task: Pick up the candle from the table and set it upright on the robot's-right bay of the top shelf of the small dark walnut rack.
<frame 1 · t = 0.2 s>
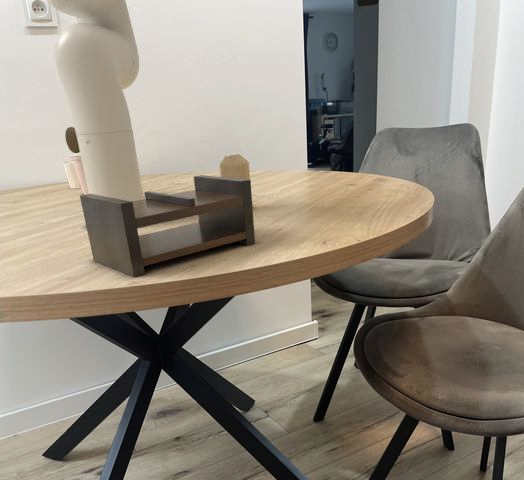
hand: (368, 0, 75), 31 cm above the table, tool pointing down, fingers open, 9 cm apart
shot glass: (80, 187, 146), on the table
rack: (176, 251, 74), on the table
kendama: (101, 200, 122), on the table
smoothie: (91, 194, 133), on the table
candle: (238, 210, 100), on the table
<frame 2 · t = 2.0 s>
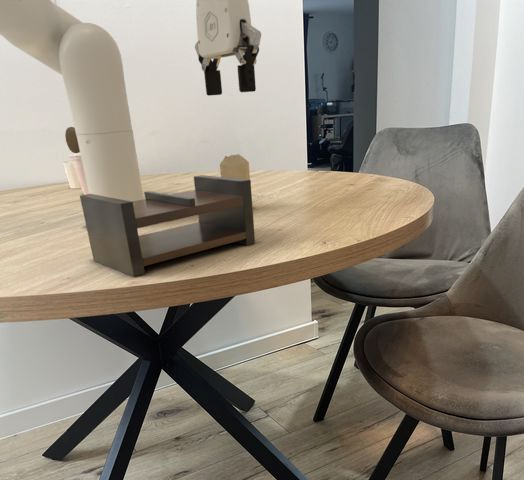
hand: (230, 93, 91), 20 cm above the table, tool pointing down, fingers open, 9 cm apart
nothing on the table moved.
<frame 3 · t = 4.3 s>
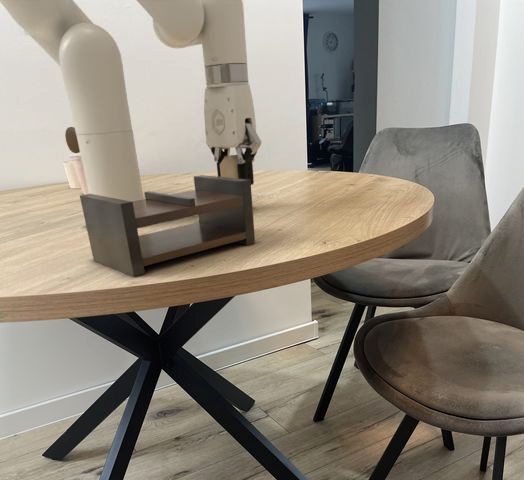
hand: (235, 183, 98), 5 cm above the table, tool pointing down, fingers closed on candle, 5 cm apart
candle: (238, 210, 100), on the table, touching gripper
everything else where it was.
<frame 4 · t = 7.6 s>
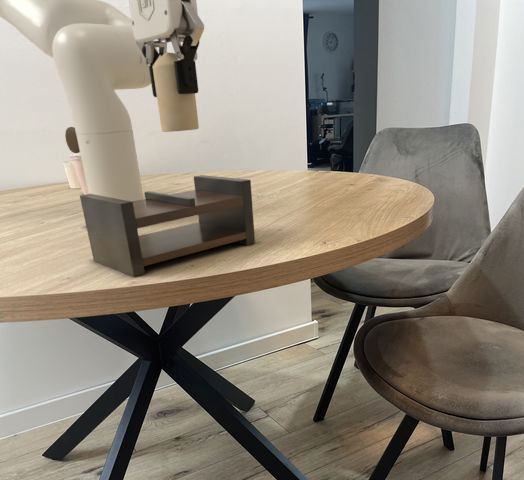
hand: (175, 93, 74), 21 cm above the table, tool pointing down, fingers closed on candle, 5 cm apart
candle: (180, 131, 76), point 15 cm above the table, touching gripper
everything else where it was.
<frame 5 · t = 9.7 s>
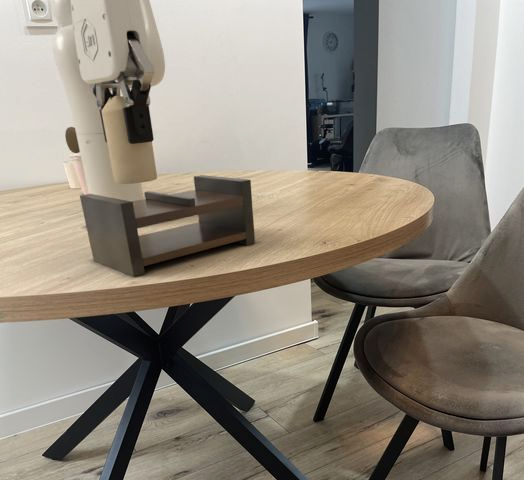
hand: (129, 140, 65), 15 cm above the table, tool pointing down, fingers closed on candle, 5 cm apart
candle: (136, 182, 67), point 10 cm above the table, touching gripper
everything else where it was.
when the fingers open (12 cm above the table, at t = 11.1 s): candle stays where it is, resting on rack.
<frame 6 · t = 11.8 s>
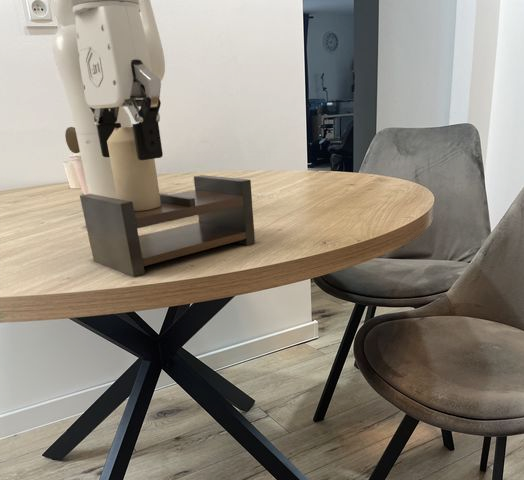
hand: (131, 157, 66), 13 cm above the table, tool pointing down, fingers open, 9 cm apart
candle: (140, 209, 68), point 7 cm above the table, touching rack
everything else where it was.
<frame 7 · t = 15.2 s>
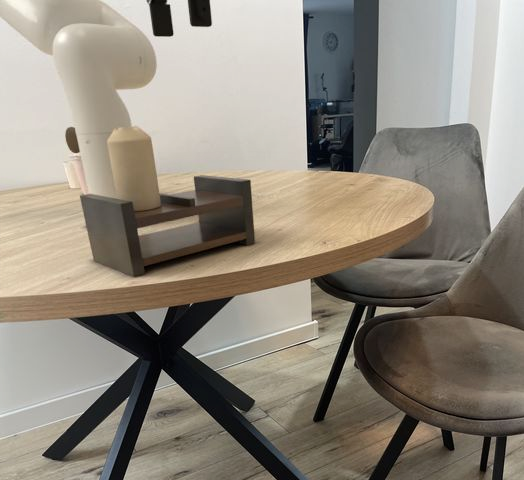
hand: (181, 31, 72), 28 cm above the table, tool pointing down, fingers open, 9 cm apart
nothing on the table moved.
at the end: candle inside the target area on the rack (0.0 cm from its centre), point 6.8 cm above the rack's base; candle tilted 0°; the gripper is holding nothing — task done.
